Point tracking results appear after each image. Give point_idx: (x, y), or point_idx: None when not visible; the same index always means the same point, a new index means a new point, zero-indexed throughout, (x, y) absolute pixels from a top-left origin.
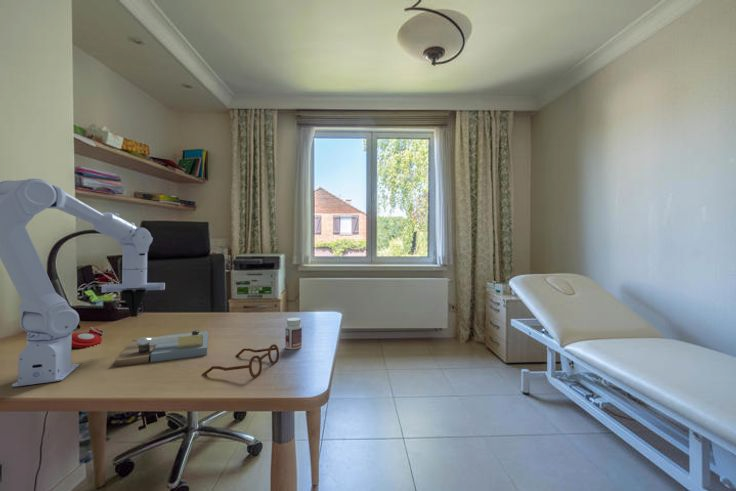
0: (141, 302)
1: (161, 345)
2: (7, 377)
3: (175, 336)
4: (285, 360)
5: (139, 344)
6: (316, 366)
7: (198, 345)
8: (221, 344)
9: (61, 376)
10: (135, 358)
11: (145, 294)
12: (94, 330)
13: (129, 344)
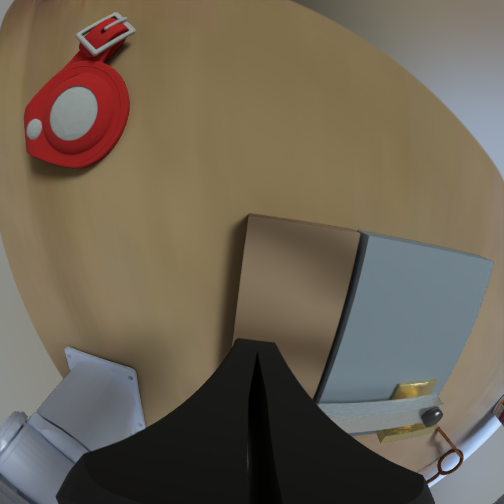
0: (319, 413)
1: (343, 382)
2: (45, 347)
3: (382, 425)
4: (458, 447)
5: None
6: (457, 462)
7: None
8: (468, 350)
9: (138, 422)
10: None
11: (397, 470)
12: (91, 52)
13: (239, 289)
